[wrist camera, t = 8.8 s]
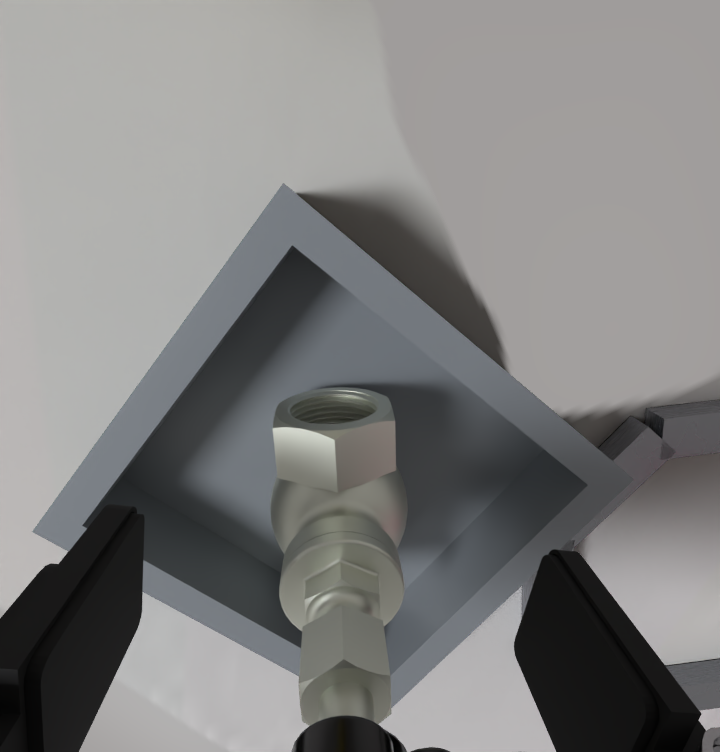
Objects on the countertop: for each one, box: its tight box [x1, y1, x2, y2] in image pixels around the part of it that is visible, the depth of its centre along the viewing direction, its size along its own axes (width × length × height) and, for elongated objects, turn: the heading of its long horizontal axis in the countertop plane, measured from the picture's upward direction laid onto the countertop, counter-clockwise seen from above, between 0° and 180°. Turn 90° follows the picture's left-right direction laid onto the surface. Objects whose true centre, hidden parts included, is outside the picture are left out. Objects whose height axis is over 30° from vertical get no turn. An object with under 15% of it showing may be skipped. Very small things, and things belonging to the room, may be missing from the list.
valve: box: [270, 387, 450, 752], centre depth 11 cm, size 7×7×12 cm
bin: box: [32, 183, 634, 708], centre depth 15 cm, size 13×12×4 cm
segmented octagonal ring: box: [522, 400, 720, 710], centre depth 19 cm, size 15×15×1 cm
